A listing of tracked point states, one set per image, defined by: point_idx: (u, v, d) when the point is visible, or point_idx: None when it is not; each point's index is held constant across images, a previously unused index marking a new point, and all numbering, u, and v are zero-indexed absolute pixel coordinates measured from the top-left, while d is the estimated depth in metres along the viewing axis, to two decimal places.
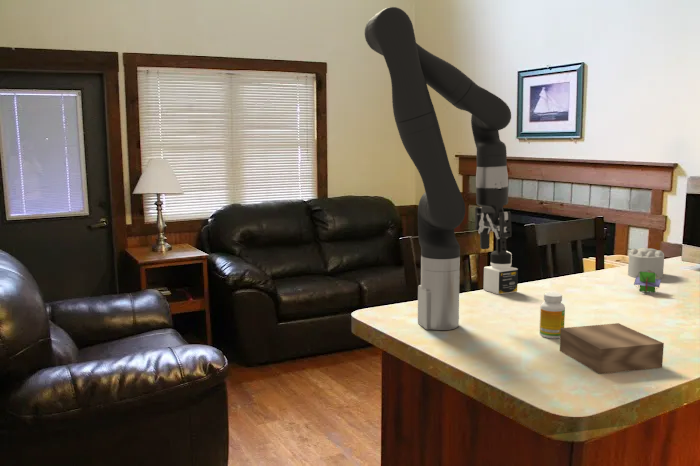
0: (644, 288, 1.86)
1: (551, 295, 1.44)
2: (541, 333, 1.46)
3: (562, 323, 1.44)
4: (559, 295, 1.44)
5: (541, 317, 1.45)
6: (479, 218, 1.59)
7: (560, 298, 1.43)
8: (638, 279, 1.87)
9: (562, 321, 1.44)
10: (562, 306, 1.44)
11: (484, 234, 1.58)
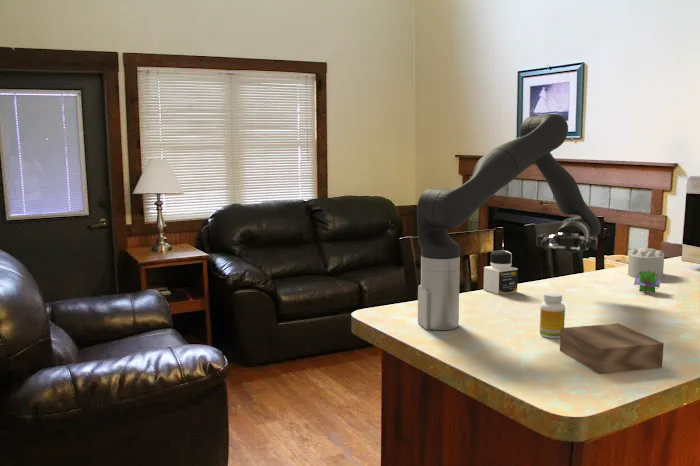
0: (644, 288, 1.86)
1: (551, 295, 1.44)
2: (541, 333, 1.46)
3: (562, 323, 1.44)
4: (559, 295, 1.44)
5: (541, 317, 1.45)
6: (543, 237, 1.63)
7: (560, 298, 1.43)
8: (638, 279, 1.87)
9: (562, 321, 1.44)
10: (562, 306, 1.44)
11: (548, 242, 1.58)
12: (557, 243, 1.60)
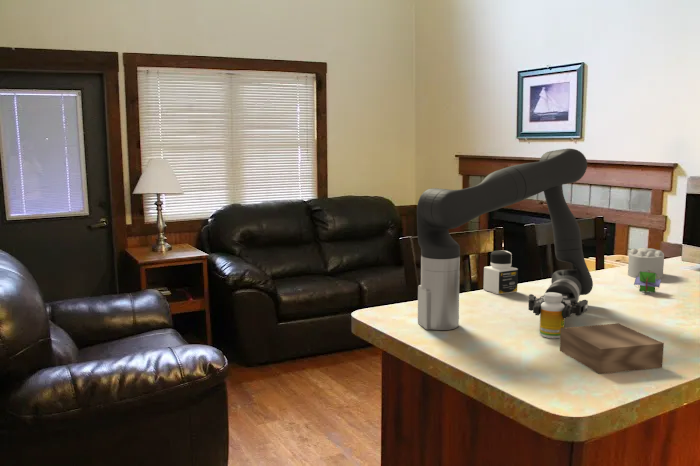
0: (644, 288, 1.86)
1: (551, 295, 1.44)
2: (541, 333, 1.46)
3: (562, 323, 1.44)
4: (559, 295, 1.44)
5: (541, 317, 1.45)
6: (533, 299, 1.52)
7: (560, 298, 1.43)
8: (638, 279, 1.87)
9: (562, 321, 1.44)
10: (562, 306, 1.44)
11: None
12: None
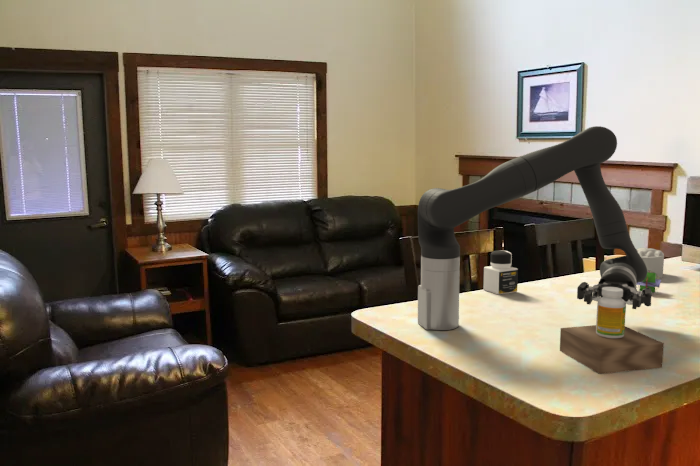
0: (644, 288, 1.86)
1: (611, 290, 1.28)
2: (598, 332, 1.29)
3: (623, 321, 1.28)
4: (620, 290, 1.28)
5: (599, 314, 1.29)
6: (585, 288, 1.36)
7: (621, 293, 1.27)
8: None
9: (623, 319, 1.27)
10: (623, 302, 1.27)
11: (592, 294, 1.32)
12: (602, 295, 1.34)
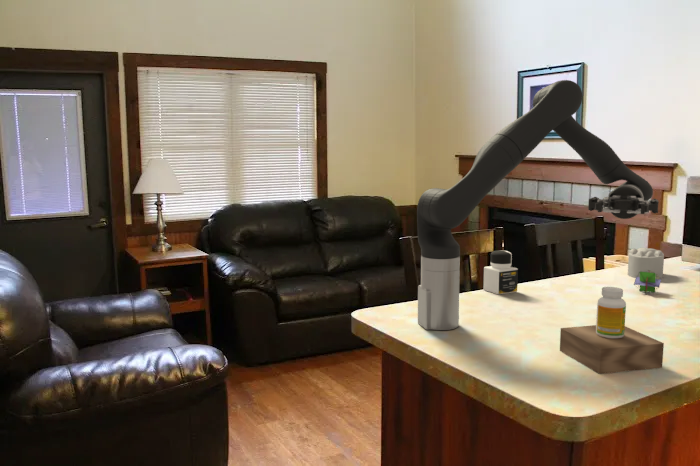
0: (644, 288, 1.86)
1: (611, 290, 1.28)
2: (598, 332, 1.29)
3: (623, 321, 1.28)
4: (620, 290, 1.28)
5: (599, 314, 1.29)
6: (596, 201, 1.45)
7: (621, 293, 1.27)
8: (638, 279, 1.87)
9: (623, 319, 1.27)
10: (623, 302, 1.27)
11: None
12: (612, 207, 1.43)
